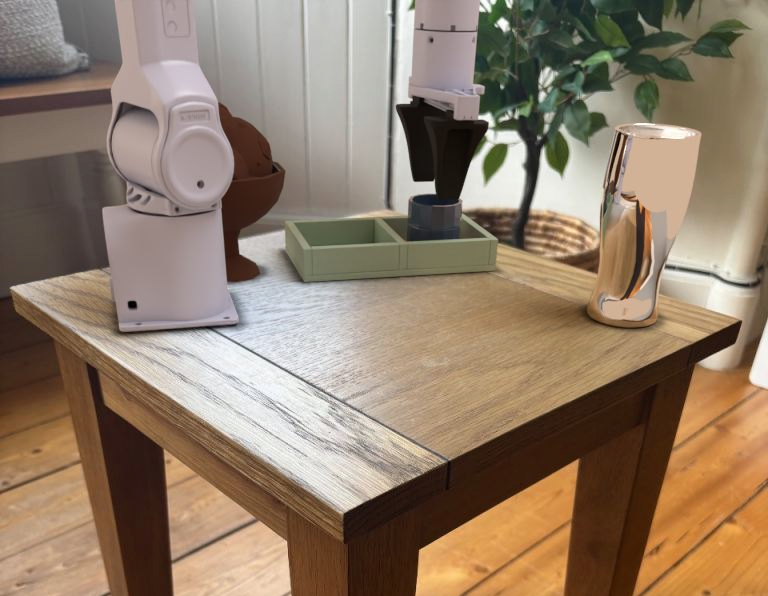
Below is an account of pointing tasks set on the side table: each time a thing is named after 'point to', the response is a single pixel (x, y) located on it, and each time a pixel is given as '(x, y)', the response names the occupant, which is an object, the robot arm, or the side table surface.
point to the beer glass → (641, 218)
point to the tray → (383, 249)
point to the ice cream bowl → (246, 190)
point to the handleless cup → (433, 218)
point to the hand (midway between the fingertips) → (435, 189)
